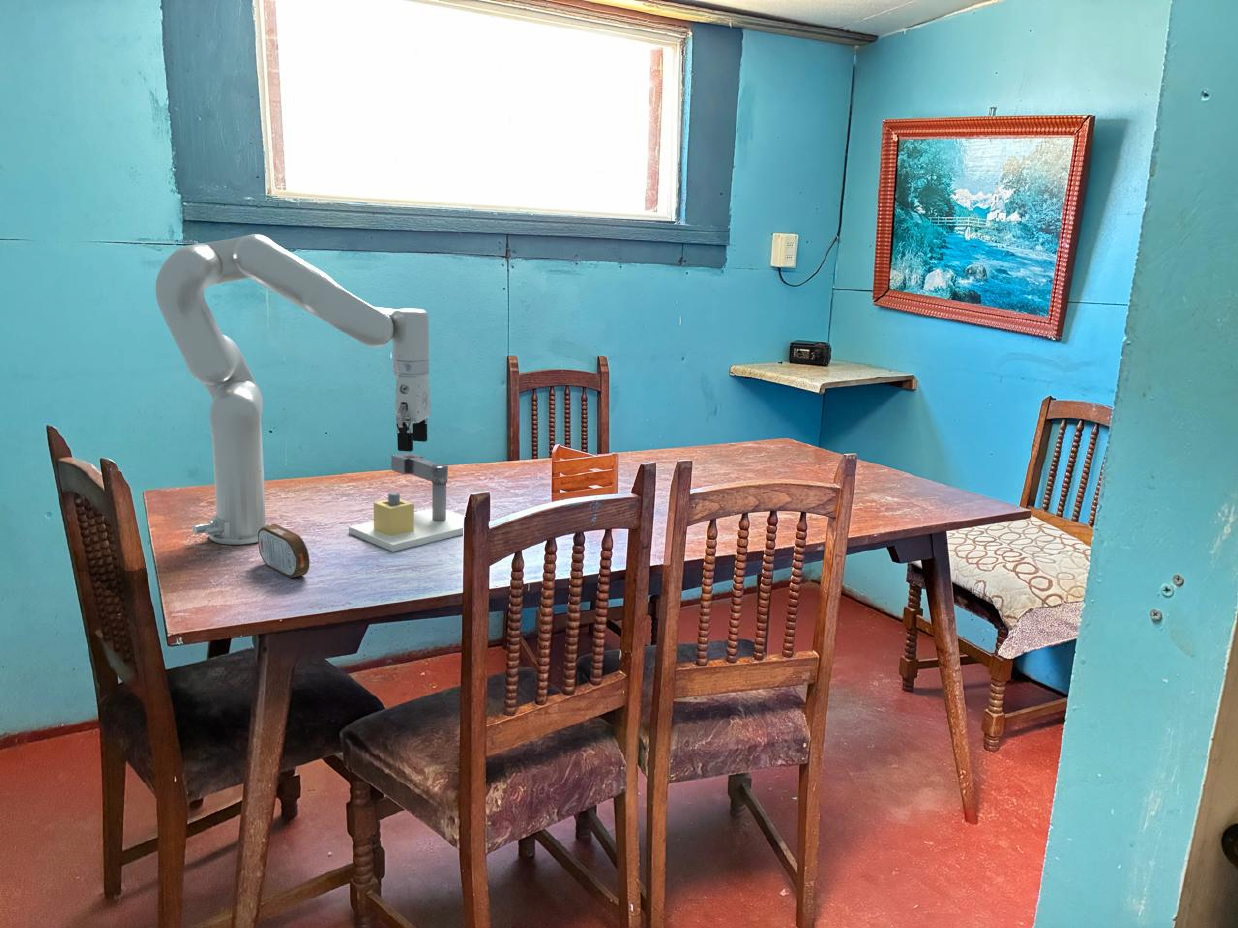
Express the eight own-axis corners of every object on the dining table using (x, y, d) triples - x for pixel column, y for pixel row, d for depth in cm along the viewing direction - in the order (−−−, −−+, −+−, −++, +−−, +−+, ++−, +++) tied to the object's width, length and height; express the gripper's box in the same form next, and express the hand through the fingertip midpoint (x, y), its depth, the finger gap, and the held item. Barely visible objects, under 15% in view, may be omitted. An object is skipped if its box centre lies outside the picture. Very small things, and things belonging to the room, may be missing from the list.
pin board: (392, 551, 192) (392, 505, 190) (348, 532, 203) (348, 488, 200) (482, 529, 210) (483, 486, 208) (438, 512, 220) (438, 471, 218)
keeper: (453, 481, 209) (453, 466, 208) (435, 485, 205) (435, 469, 204) (409, 467, 219) (409, 452, 219) (391, 470, 216) (391, 455, 215)
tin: (311, 580, 175) (310, 537, 173) (296, 584, 173) (294, 540, 171) (270, 559, 185) (269, 518, 183) (255, 562, 183) (253, 521, 181)
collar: (413, 530, 202) (413, 503, 200) (390, 535, 198) (389, 508, 196) (397, 523, 206) (397, 497, 204) (373, 529, 201) (373, 502, 200)
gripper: (415, 374, 190) (416, 456, 195) (440, 363, 207) (441, 438, 211) (379, 372, 191) (382, 454, 195) (407, 361, 208) (409, 436, 212)
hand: (412, 445), depth 203 cm, fingers open, 9 cm apart
